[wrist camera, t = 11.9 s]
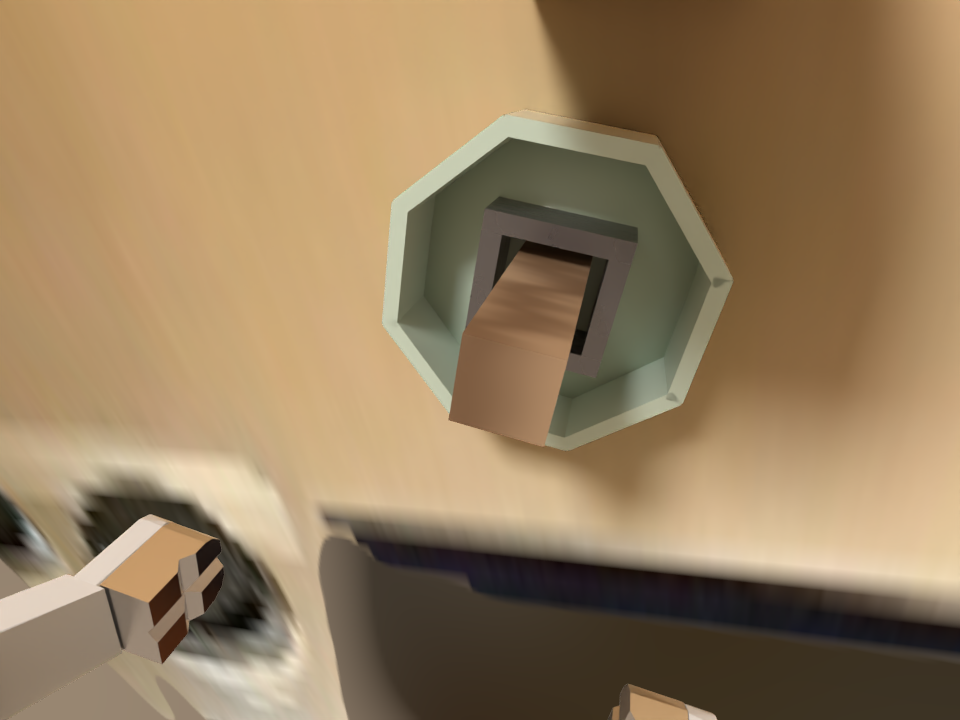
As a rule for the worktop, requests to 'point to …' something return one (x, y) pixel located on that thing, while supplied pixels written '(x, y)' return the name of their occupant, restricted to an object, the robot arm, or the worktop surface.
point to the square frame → (563, 233)
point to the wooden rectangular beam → (521, 344)
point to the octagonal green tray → (648, 289)
